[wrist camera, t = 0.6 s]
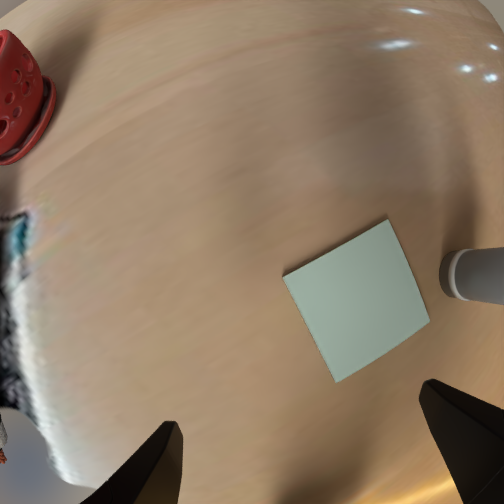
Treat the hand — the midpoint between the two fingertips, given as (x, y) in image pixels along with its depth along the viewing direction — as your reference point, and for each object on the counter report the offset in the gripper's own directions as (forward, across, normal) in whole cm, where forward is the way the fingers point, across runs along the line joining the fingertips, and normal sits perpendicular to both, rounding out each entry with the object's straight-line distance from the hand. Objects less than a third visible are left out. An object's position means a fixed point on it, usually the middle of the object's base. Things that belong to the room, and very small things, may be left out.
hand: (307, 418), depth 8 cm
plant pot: (+21, +26, -20) cm, 39 cm away
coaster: (+13, -7, +3) cm, 16 cm away
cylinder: (+14, -18, +2) cm, 22 cm away
